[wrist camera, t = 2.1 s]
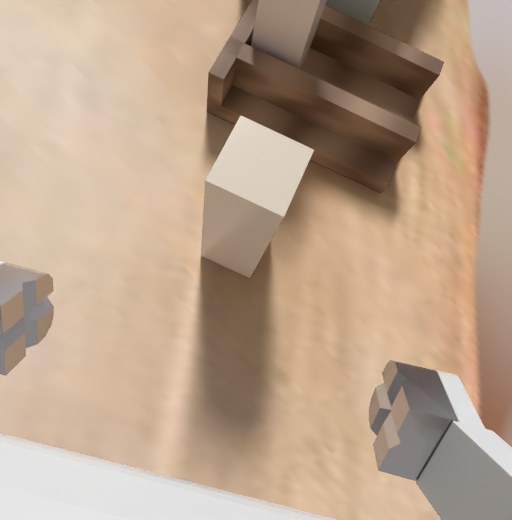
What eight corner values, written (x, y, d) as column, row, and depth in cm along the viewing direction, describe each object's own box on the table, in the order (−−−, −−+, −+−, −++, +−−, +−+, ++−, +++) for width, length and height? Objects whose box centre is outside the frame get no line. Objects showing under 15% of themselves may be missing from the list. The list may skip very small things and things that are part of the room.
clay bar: (200, 255, 30) (205, 180, 19) (223, 211, 31) (240, 115, 20) (249, 278, 30) (283, 217, 19) (270, 233, 31) (314, 149, 20)
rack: (206, 111, 34) (208, 72, 29) (267, 7, 38) (276, -41, 33) (380, 192, 34) (407, 166, 29) (421, 80, 38) (450, 42, 34)
